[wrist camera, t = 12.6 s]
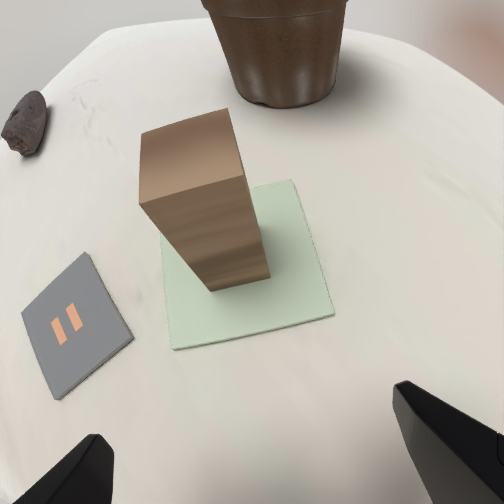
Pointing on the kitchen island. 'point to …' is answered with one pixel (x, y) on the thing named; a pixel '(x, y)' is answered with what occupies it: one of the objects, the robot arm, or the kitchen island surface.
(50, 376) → the plate
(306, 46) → the plant pot
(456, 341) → the kitchen island surface
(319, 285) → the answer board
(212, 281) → the walnut post
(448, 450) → the robot arm
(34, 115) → the perforated stone tool
